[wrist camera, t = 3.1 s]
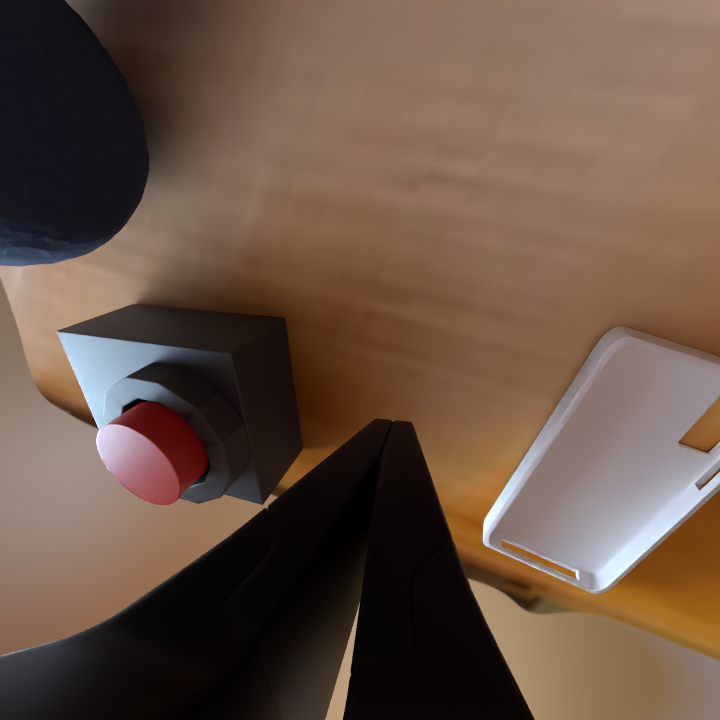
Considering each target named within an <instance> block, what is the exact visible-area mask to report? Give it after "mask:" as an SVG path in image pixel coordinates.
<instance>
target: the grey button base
mask: <svg viewBox="0 0 720 720" xmlns="http://www.w3.org/2000/svg"><path fill="white" fill-rule="evenodd" d="M57 333H58V335H59V338H60V340H61V342H62V345H63V347H64V349H65V352H66V354H67V356H68V358H69V361H70V363H71V365H72V368H73V370H74V372H75V375H76V377H77V379H78V382H79V384H80V386H81V389H82V391H83V393H84V396H85V398H86V400H87V402H88V405H89V407H90V409H91V412H92V414H93V416H94V419H95V421H96V423H97V426H98V428H99V430H100V429H101V428H102V427H103V426H105V425H106V424H108V423H109V422H111V421H112V420H114V419H116V418H117V417H119V416H120V415H122V414H124V413H125V412H127V411H128V410H130V409H131V408H133V407H135V406H136V405H138V404H140V403H142V402H146V401H153V402H159V403H162V404H164V405H165V406H167V407H168V408H169V409H171V410H172V411H174V412H175V413H177V414H178V415H180V416H181V417H183V418H184V419H185V420H186V421H187V422H188V423H189V425H190V426H191V427H192V429H193V430H194V431H195V433H196V434H197V435H198V436H199V438H200V439H201V440H202V442H203V443H204V444H205V448H206V451H207V455H208V458H209V462H208V467H207V469H206V471H205V472H204V473H203V474H202V475H201V476H200V477H199V478H198V479H197V480H196V481H195V482H194V483H193V484H192V485H191V486H190V487H189V488H188V489H187V490H186V491H185V492H184V493H183V494H182V495H181V496H180V497H179V498H180V499H184V500H187V501H190V502H194V503H198V504H199V503H203V502H206V501H210V500H214V499H217V498H221V496H223V495H224V494H225V495H228V496H232V497H236V498H239V499H243V500H247V501H250V502H254V503H258V504H261V505H263V504H264V503H265V501H266V500H267V498H268V497H269V496H270V494H271V493H272V491H273V490H274V489H275V487H276V486H277V485H278V483H279V482H280V480H281V479H282V478H283V476H284V475H285V473H286V472H287V471H288V469H289V468H290V466H291V465H292V464H293V462H294V461H295V459H296V458H297V457H298V455H299V454H300V453H301V451H302V443H301V435H300V428H299V420H298V413H297V405H296V398H295V390H294V383H293V375H292V368H291V360H290V352H289V345H288V337H287V330H286V322H285V318H281V317H270V316H259V315H248V314H236V313H225V312H214V311H203V310H192V309H180V308H169V307H158V306H147V305H135V304H132V305H129V306H126V307H124V308H121V309H118V310H115V311H112V312H109V313H107V314H104V315H101V316H98V317H95V318H92V319H90V320H87V321H84V322H81V323H78V324H75V325H73V326H70V327H67V328H64V329H61V330H58V331H57Z"/></svg>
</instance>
